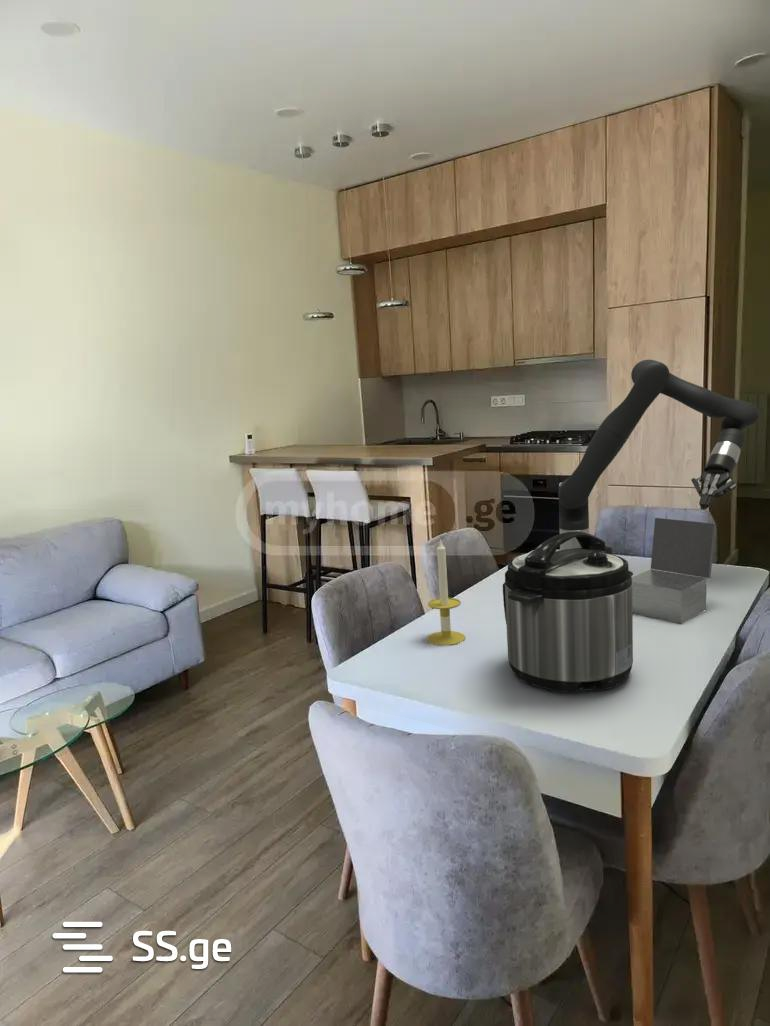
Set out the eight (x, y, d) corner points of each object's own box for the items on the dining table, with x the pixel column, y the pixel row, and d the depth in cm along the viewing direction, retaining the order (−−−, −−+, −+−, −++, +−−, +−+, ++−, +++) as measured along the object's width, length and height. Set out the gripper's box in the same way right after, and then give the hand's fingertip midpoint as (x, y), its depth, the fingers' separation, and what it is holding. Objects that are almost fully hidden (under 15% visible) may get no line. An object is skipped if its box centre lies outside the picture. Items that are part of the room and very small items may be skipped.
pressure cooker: (606, 641, 166) (604, 515, 161) (664, 690, 139) (664, 540, 133) (487, 654, 164) (481, 527, 158) (522, 706, 136) (516, 554, 131)
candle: (449, 648, 169) (443, 544, 164) (419, 640, 176) (412, 540, 171) (473, 636, 176) (468, 536, 171) (443, 629, 183) (437, 532, 178)
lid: (655, 517, 193) (660, 517, 195) (650, 568, 194) (655, 568, 196) (713, 523, 181) (718, 523, 182) (708, 578, 181) (713, 577, 183)
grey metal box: (624, 611, 186) (624, 580, 185) (650, 599, 195) (650, 569, 194) (681, 623, 174) (681, 590, 173) (706, 610, 183) (706, 578, 181)
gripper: (696, 451, 203) (676, 497, 197) (742, 452, 193) (723, 501, 187) (704, 467, 207) (685, 512, 202) (749, 468, 197) (730, 516, 191)
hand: (703, 507), depth 194 cm, fingers closed
